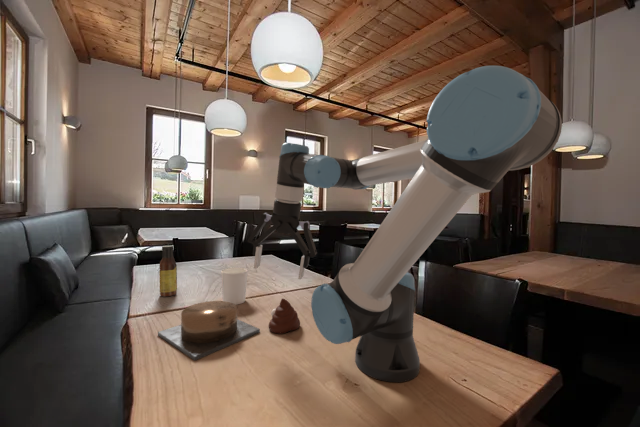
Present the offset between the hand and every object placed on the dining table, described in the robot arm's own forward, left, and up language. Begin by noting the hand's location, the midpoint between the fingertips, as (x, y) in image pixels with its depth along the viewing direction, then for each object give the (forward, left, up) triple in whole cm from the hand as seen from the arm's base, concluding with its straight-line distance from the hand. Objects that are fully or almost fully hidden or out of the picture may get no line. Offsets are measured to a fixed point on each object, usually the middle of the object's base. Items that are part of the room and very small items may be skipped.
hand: (278, 272), depth 82 cm
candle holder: (+33, -8, -18) cm, 38 cm away
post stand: (+15, +13, -18) cm, 27 cm away
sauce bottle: (+59, +5, -18) cm, 62 cm away
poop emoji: (+2, -4, -19) cm, 19 cm away
